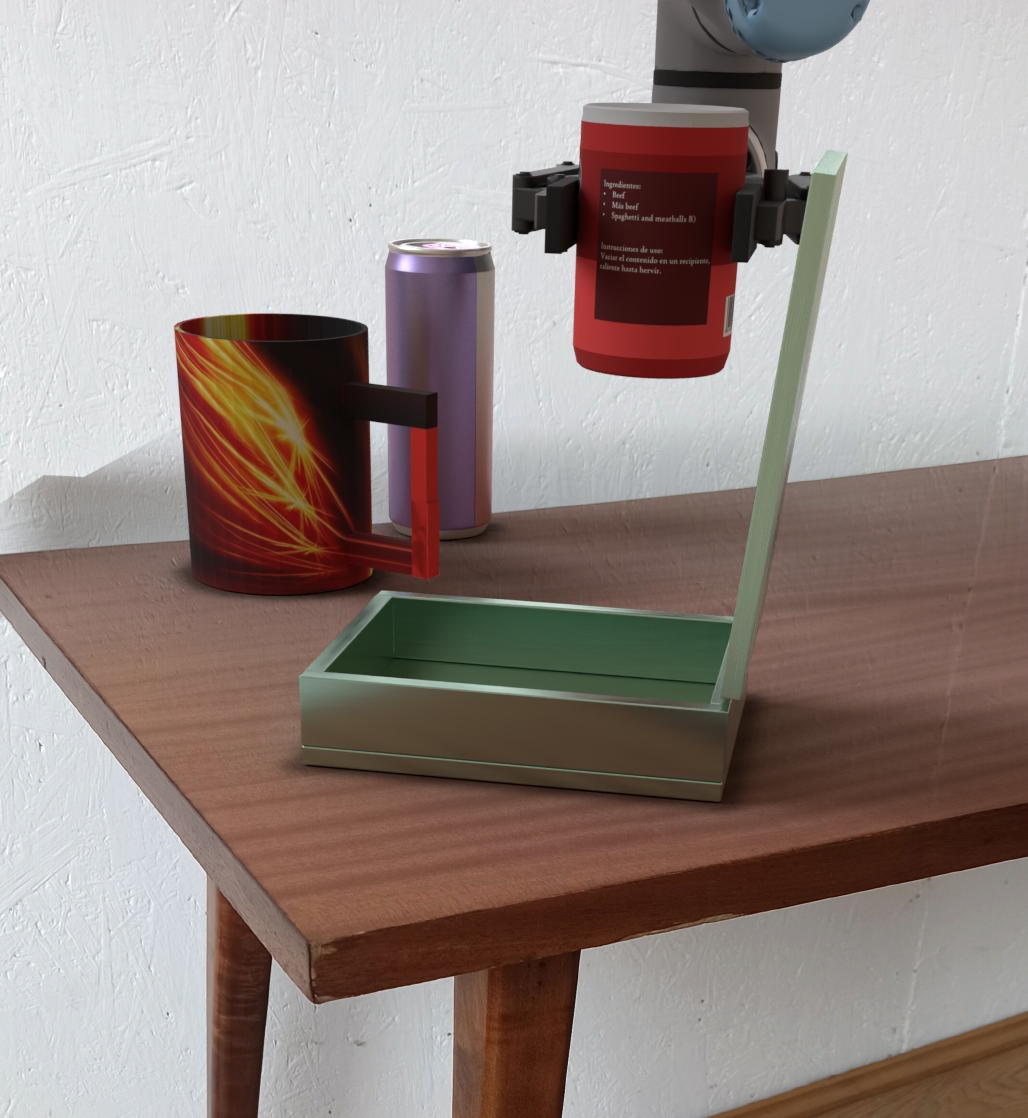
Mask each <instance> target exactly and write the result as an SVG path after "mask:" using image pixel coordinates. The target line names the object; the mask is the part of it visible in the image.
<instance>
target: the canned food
mask: <svg viewBox="0 0 1028 1118" xmlns="http://www.w3.org/2000/svg"><path fill="white" fill-rule="evenodd" d="M748 116H749V111H747V110H745V109H743V108H736V107H725V106H709V105H690V104H663V103H651V102H590V103H586V104H584V105H582V115H581V120H580V140H579V141H580V142H579V154H578V155H579V156H578V157H579V158H578V165H579V182H578V211H577V239H576V244H575V270H574V272H575V273H574V300H573V326H572V327H573V328H572V329H573V330H572V346H573V350H574V356H575V361H576V363H577V364H578V365H579V366H580V367H581V368H583V369H585V370H587V371H591V372H595V373H599V374H604V375H609V376H610V375H611V376H615V377H623V378H635V379H651V380H652V379H653V380H654V379H656V380H677V379H679V380H680V379H697V378H703V377H709V376H714V375H717V374H719V373H720V372H721V371H722V370H724V368H725V366H726V363H727V362H728V358H729V355H730V353H731V347H732V345H731V344H732V335H733V324H734V323H733V321H734V312H735V299H736V289H737V287H736V286H737V277H738V276H737V275H738V267H739V265H738V264H739V262H731V251H732V239H733V227H734V214H735V202H736V194H737V193H738V192H739V190H740V189H741V188H742V187H743V186H745V174H746V163H747V145H748V133H749V122H748Z"/></svg>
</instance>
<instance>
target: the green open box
mask: <svg viewBox="0 0 1028 1118" xmlns="http://www.w3.org/2000/svg"><path fill="white" fill-rule="evenodd" d="M733 617H734V616H730V615H729V616H728V615H716V614H715V615H714V614H701V613H699V614H698V613H690V612H689V613H687V612H675V611H673V612H672V611H661V610H649V609H648V610H647V609H635V608H634V609H633V608H622V607H621V608H620V607H608V606H606V607H605V606H596V605H595V606H594V605H582V604H581V605H580V604H568V603H555V602H554V603H553V602H541V601H528V600H527V601H526V600H515V599H502V598H501V599H500V598H487V597H486V598H485V597H475V596H461V595H450V594H449V595H448V594H436V593H435V594H434V593H421V592H408V591H407V592H406V591H394V590H379V592H377V593H376V594H374V596H373V597H372V598H371V599H370V600H369V601H368V602H367V604H366V605H364V606H363V607H362V609H361V610H360V611H359V612H358V613H357V614H356V615H355V616H354V617H353V618H352V619H351V620H350V621H349V623H347V624H346V626H345V627H343V629H342V630H341V631H340V632H339V633H338V634H337V635H336V636H335V637H334V638H333V639H332V640H331V641H330V642H329V644H328V645H327V646H326V647H325V648H324V649H323V650H322V651H321V652H320V653H319V654H318V655H317V656H316V658H314V659H313V661H311V663H309V665H308V666H307V667H306V668H305V669H304V670H303V671H302V672H301V673H300V675H298V688H299V689H298V690H299V692H298V693H299V713H300V714H299V715H300V716H299V717H300V738H301V745H302V746H301V756H302V759H301V760H302V765H305V766H306V765H307V766H319V767H328V768H339V769H350V770H360V771H361V770H363V771H373V772H382V773H383V772H384V773H393V774H406V775H418V776H429V777H438V778H449V779H451V778H452V779H460V780H461V779H462V780H471V781H472V780H473V781H484V782H495V783H506V784H516V785H528V786H537V787H549V788H550V787H551V788H560V789H561V788H562V789H571V790H583V791H595V792H604V793H605V792H606V793H617V794H627V795H638V796H647V797H649V796H650V797H659V798H670V799H681V800H691V801H693V800H694V801H705V802H715V803H719V802H721V801H722V799H723V798H722V797H723V794H724V789H725V785H726V781H727V777H728V773H729V770H730V769H729V768H730V764H731V761H732V757H733V753H734V749H735V744H736V741H737V736H738V732H739V729H740V728H739V727H740V723H741V721H742V715H743V711H744V708H745V703H746V699H747V689H748V680H749V672H748V673H747V677H746V681H745V685H744V689H743V693H742V697H741V700H740V701H736V700H730V699H724V698H720V691H721V685H722V679H723V674H724V668H725V662H726V657H727V651H728V645H729V640H730V634H731V628H732V623H733ZM749 669H750V668H749ZM749 669H748V671H749Z"/></svg>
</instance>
